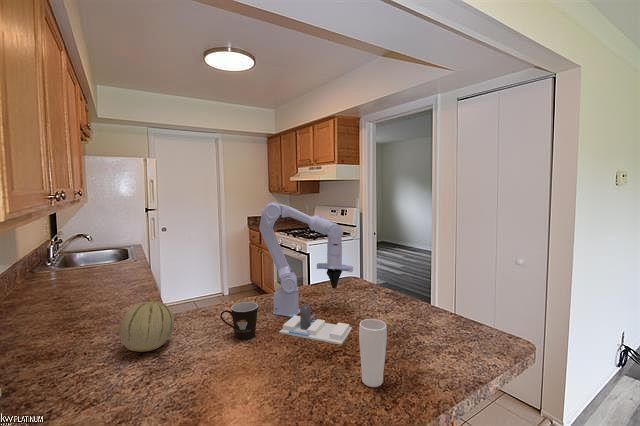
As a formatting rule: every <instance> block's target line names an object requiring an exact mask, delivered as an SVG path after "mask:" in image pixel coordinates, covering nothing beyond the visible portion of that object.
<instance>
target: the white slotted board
mask: <svg viewBox="0 0 640 426" xmlns="http://www.w3.org/2000/svg"><path fill="white" fill-rule="evenodd" d="M352 330H353V327H352V326H350V324H349V323H343V322H337V323H336V324H333V323H329V322H326V320H324V319H318V318H317V319H312V320H311V326H310V327H309V328H308V329H307V330H303V329H301V328H300V315H294V316H293V317H290V319H288V320H287V321H286V322H285V323H284V324H283V325H282V329H281V330H279V334H282V335H283V334H284V335H287V336H288V335H289V336H293V337H298V338H303V339H307V340H308V339H310V340H314V341H318V342H319V341H320V342H326V343H329V344H336V345H343V343H344V342H345V340H346V339H347V337H348V335H349V334H350V333H351V331H352Z"/></svg>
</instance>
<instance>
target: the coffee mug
mask: <svg viewBox="0 0 640 426" xmlns="http://www.w3.org/2000/svg"><path fill="white" fill-rule="evenodd" d="M258 309H259V304H257V303H256V302H253V301H243V302H238V303H236V304H235V303H234V304H233V305H232V306H231V307H230V310H228V309H225V310H222V312H220V314H219V315H220V317H219V318H220V320H221V321H222V322H223V323H225V324H226V325H227V326H229V327H231V328H232V329H233V331H234V337H235V339H236V341H240V342H244V341H250V340H252V339H254V338H255V337H256V331H257V330H256V329H257V318H258ZM224 313H228V314H229V315H230V316H231V317H232V322H233V323H232V324H231V323H230V322H228V321H227V320H225V319H224V317H223V315H224Z"/></svg>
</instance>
